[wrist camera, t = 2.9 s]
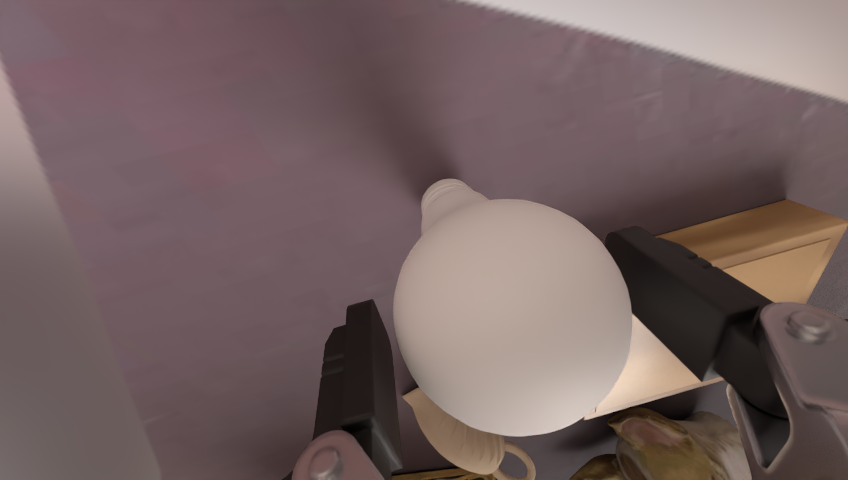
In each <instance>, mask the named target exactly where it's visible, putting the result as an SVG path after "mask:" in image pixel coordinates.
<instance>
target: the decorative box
mask: <svg viewBox="0 0 848 480" xmlns="http://www.w3.org/2000/svg"><path fill="white" fill-rule="evenodd" d="M498 468H499V467H498ZM499 469H500V468H499ZM391 477H392V480H498V479H497V478H496V477H495V476H494V475H493V474H492V473H491V474H487V475H482V474H477V473H473V472H470V471H467V470H465V469H463V468H460V467H459V468H451V469H442V470H434V471H425V472H417V473H408V474H400V475H391Z"/></svg>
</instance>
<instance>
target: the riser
mask: <svg viewBox="0 0 848 480" xmlns="http://www.w3.org/2000/svg"><path fill="white" fill-rule="evenodd" d="M847 226H848V221H846V220H844V219H841V218H838V217H835V216H833V215H830V214H827V213H824V212H822V211H819V210H816V209H813V208H810V207H808V206H805V205H802V204H799V203H797V202H794V201H791V200H783V201H779V202H776V203H772V204H769V205H765V206H761V207H758V208H754V209H751V210H747V211H744V212H740V213H737V214H733V215H729V216H726V217H722V218H719V219H715V220H712V221H708V222H705V223H701V224H697V225H694V226H690V227H687V228H683V229H680V230H676V231H672V232H669V233H665V234H662V235H658V236H655V237H656V238H658V237H660V238H663V239H666V240H669V241H672V242H675V243H678V244H681V245H683V246H684V247H686V248H687V249H689V250H691V251H692V252H694V253H695V254H697V255H698V257H702V258H703V259H705V260H707V261H708V262H710V263H711V264H712V266H713V267H715V266H716V267H718V268H720V269H721V270H723V271H724V272H726V273H728V274H729V275H731V276H732V277H734V278H736V279H737V280H739V281H740V282H742V283H744V284H745V285H747V286H748V287H750V288H752V289H753V290H755V291H757V292H758V293H760V294H761V295H763V296H765V297H766V298H768V299H769V300H771V301H773V302H774V303H777V302H796V303H803V304H806V302H807V300H808V298H809V296H810V295H811V293H812V291H813V289H814V287H815V285H816V283H817V282H818V280H819V278H820V276H821V274H822V272H823V271H824V269H825V267H826V265H827V263H828V261H829V259H830V258H831V256H832V254H833V252H834V250H835V248H836V247H837V245H838V243H839V241H840V239H841V237H842V236H843V234H844V232H845V230H846V228H847ZM632 321H633V324H632V336H631V344H630V351H629V356H628V359H627V362H626V365H625V367H624V369H623V371H622V372H621V374H620V376H619V378H618V380H617V382H616V383H615V385H614V387H613V388H612V390H611V392H610V393H609V394H608V395H607V396H606V397H605V399H604V400H603V401H602V402H601V403H599V404H598V405H597V406H596V407H595V408H594V409H593V410H592V411H590V412H589V413H588V414H587V415H586V416H584V417H583V418H582V419H583V420H588V419H591V418H595V417H598V416H602V415H605V414H609V413H612V412H615V411H619V410H622V409H626V408H629V407H633V406H636V405H639V404H643V403H646V402H650V401H653V400H656V399H660V398H663V397H667V396H670V395H674V394H677V393H680V392H684V391H687V390H691V389H694V388H698V387H701V386H704V385H708V384H711V383H715V382H718V381H722V380H724V379H723V378H722V377H718V378H715V379H711V380H708V381H704V382H701V381H700V380H699V379H698V378H697V377H696V376H695V375H694V374H693V373H692V372H691V371H690V370H689V369H688V368H687V367H686V366H685V365H684V364H683V363H682V362H681V361H680V360H679V359H678V358H677V357H676V356H675V355H674V354H673V353H672V352H671V351H670V350H669V349H668V348H667V347H666V346H665V345H664V344H663V343H662V342H661V341H660V340H659V339H658V338H657V337H656V336H655V335H654V334H653V333H652V332H651V331H650V330H648V329H647V328H646V327H645V326H644V325H643V324H642V323H641V322H640V321H639V320H638V319H637V318H636V317H635V316H634V315H633V314H632Z"/></svg>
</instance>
